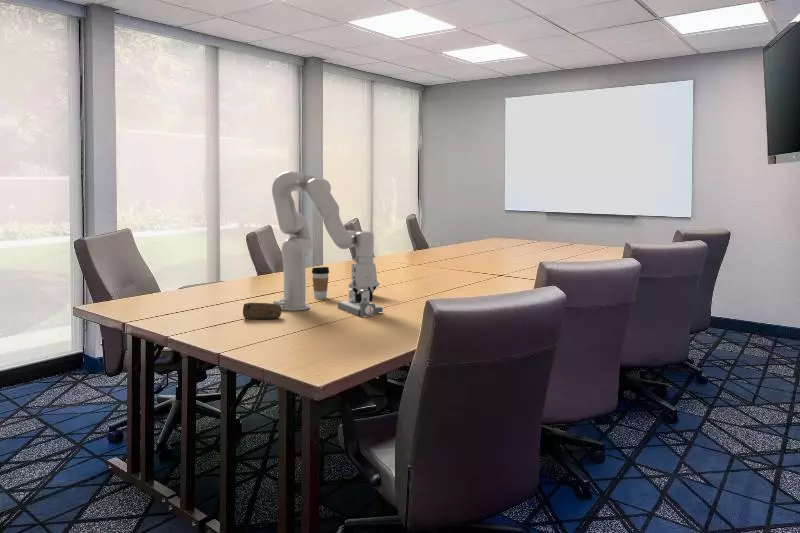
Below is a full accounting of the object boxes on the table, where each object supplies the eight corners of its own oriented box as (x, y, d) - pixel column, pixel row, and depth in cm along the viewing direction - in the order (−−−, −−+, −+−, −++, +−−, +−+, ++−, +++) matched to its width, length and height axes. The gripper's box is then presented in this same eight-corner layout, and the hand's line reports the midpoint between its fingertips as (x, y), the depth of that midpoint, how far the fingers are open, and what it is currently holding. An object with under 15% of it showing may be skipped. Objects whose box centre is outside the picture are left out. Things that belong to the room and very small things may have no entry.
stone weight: (242, 321, 236) (242, 304, 235) (244, 317, 243) (243, 301, 242) (280, 320, 239) (280, 304, 238) (281, 316, 246) (281, 300, 245)
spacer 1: (352, 303, 260) (352, 290, 260) (346, 301, 265) (346, 288, 264) (361, 302, 263) (362, 289, 262) (356, 300, 267) (356, 287, 267)
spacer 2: (361, 305, 253) (361, 291, 252) (356, 303, 257) (356, 289, 256) (371, 304, 256) (372, 290, 255) (366, 302, 260) (366, 288, 259)
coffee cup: (327, 299, 285) (327, 268, 283) (310, 299, 285) (310, 268, 283) (330, 296, 293) (330, 266, 291) (313, 296, 293) (313, 266, 291)
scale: (362, 317, 246) (362, 306, 245) (337, 308, 265) (337, 297, 264) (386, 314, 252) (386, 303, 252) (361, 305, 271) (361, 295, 271)
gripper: (351, 262, 246) (350, 305, 248) (386, 260, 255) (385, 301, 258) (342, 260, 252) (342, 302, 255) (377, 258, 262) (376, 299, 264)
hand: (363, 301), depth 256 cm, fingers closed on spacer 2, 4 cm apart
